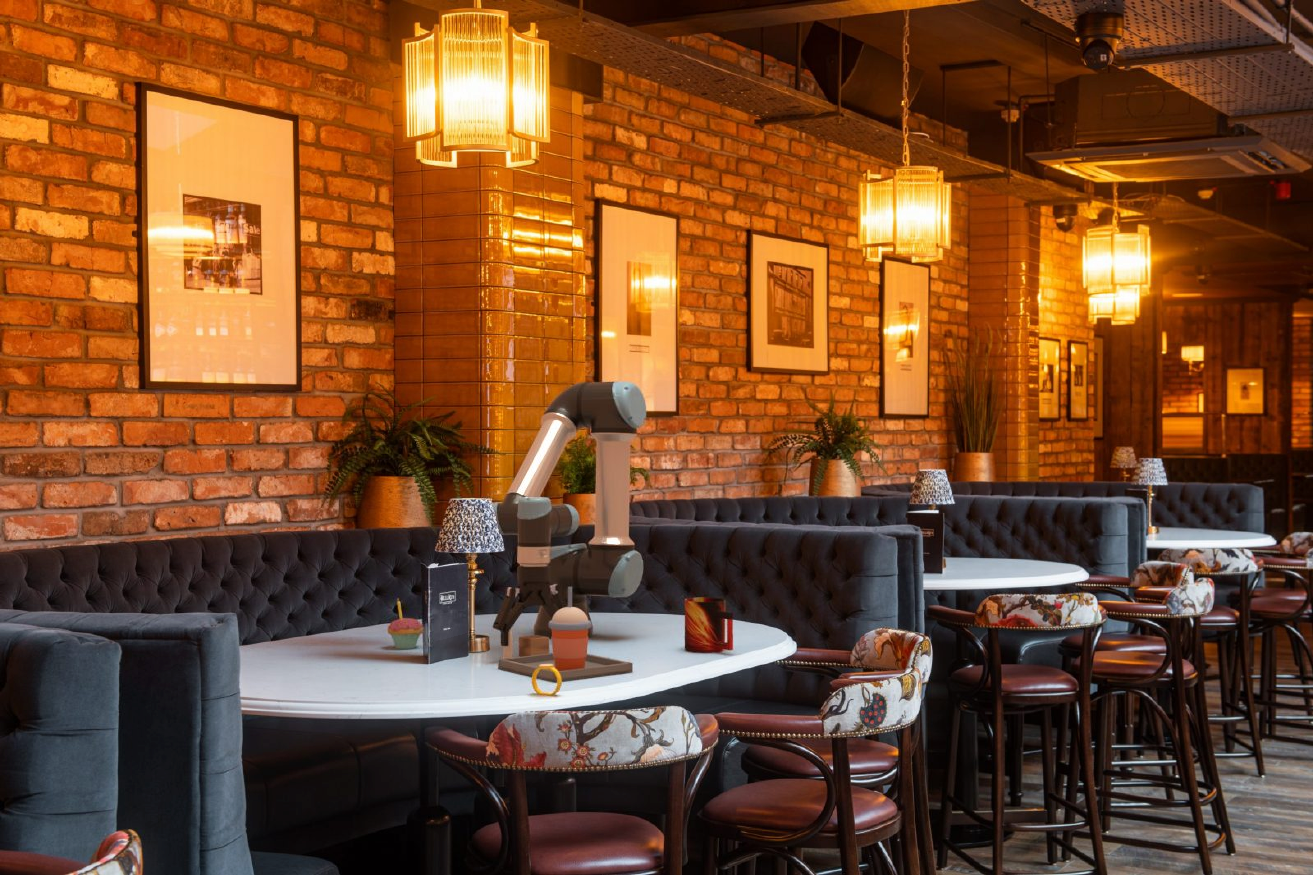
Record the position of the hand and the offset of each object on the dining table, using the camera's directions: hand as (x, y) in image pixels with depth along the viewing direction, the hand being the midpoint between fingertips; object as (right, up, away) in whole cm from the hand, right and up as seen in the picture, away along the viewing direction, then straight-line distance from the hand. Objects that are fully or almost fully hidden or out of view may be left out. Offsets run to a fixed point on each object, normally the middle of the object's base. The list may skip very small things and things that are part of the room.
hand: (533, 658), depth 314 cm
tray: (+8, 0, -16) cm, 18 cm away
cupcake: (-32, 0, +17) cm, 36 cm away
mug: (+42, -1, +13) cm, 43 cm away
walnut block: (0, 0, 0) cm, 0 cm away
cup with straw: (+10, 0, -21) cm, 24 cm away
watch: (+7, 0, -45) cm, 45 cm away
